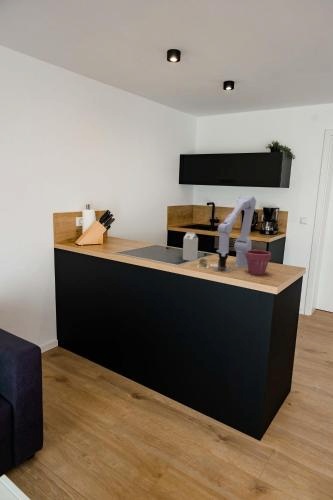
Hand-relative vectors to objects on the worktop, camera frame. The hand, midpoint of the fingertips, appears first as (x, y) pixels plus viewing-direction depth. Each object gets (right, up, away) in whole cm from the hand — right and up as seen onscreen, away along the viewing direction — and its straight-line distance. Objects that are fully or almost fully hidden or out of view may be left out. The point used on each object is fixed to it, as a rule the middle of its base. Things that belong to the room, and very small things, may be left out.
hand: (222, 265), depth 206 cm
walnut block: (0, -2, 0) cm, 2 cm away
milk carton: (-18, +3, +26) cm, 32 cm away
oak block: (-11, -1, +7) cm, 13 cm away
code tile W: (-2, -1, +11) cm, 11 cm away
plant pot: (+19, -4, -5) cm, 20 cm away
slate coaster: (0, -3, 0) cm, 3 cm away
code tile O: (-11, -1, +7) cm, 13 cm away
